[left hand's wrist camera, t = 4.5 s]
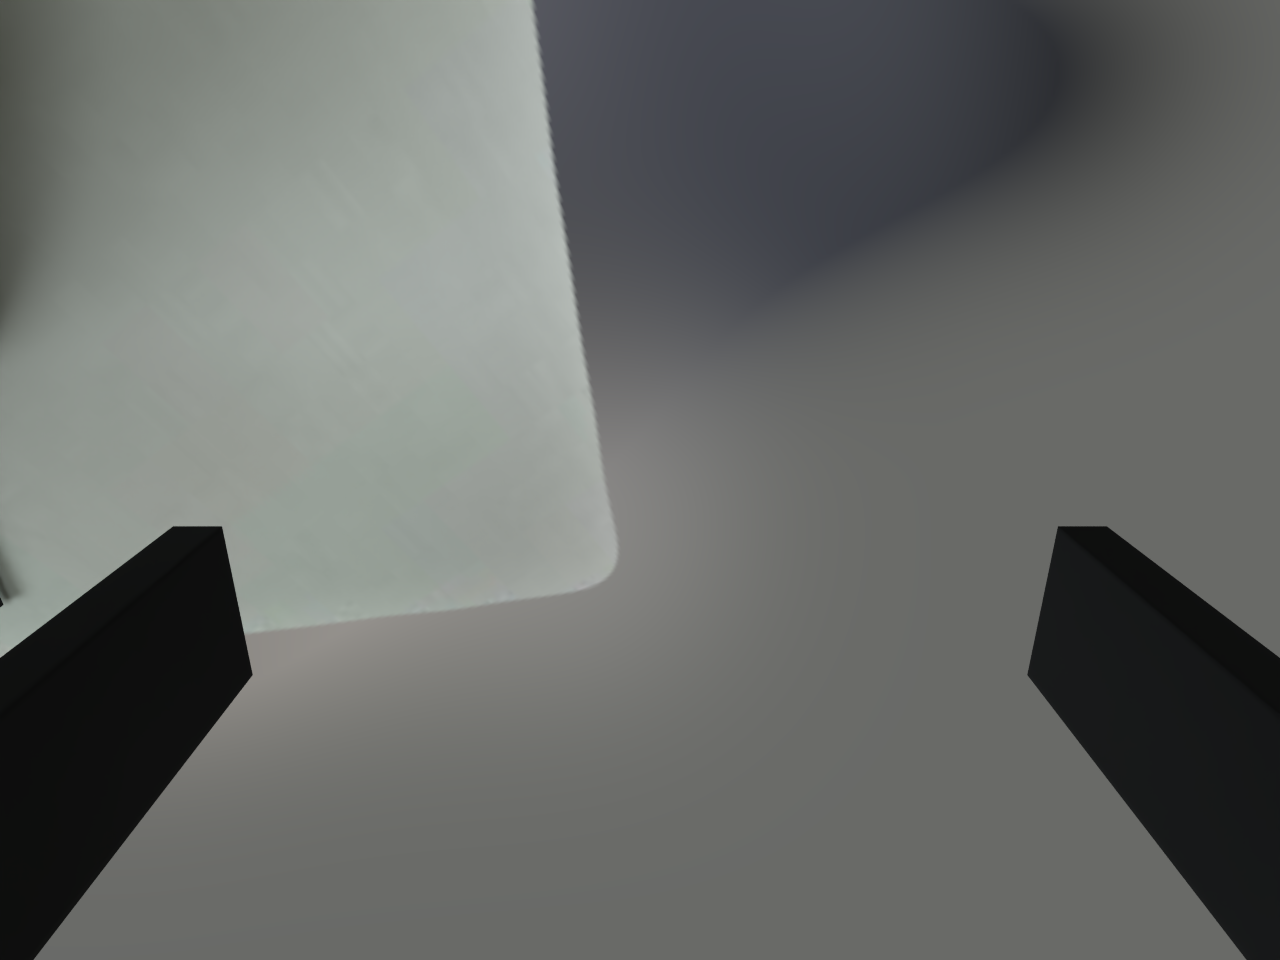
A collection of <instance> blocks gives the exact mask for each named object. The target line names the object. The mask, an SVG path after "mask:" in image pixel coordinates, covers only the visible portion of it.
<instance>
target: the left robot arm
mask: <svg viewBox="0 0 1280 960" xmlns="http://www.w3.org/2000/svg"><path fill="white" fill-rule="evenodd" d="M2 605H3V603H2V601H1V598H0V607H1V606H2ZM251 676H252V670H251V665H250V660H249V655H248V650H247V645H246V641H245V636H244V631H243V626H242V621H241V616H240V612H239V607H238V602H237V597H236V592H235V587H234V582H233V578H232V573H231V568H230V563H229V558H228V553H227V549H226V544H225V539H224V534H223V529H222V526H173V527H172V528H171V529H169V530H168V531H167V532H165V533H164V534H163V535H161V536H160V537H159V538H157V539H156V540H155V541H153V542H152V543H151V544H149V545H148V546H147V547H146V548H144V549H143V550H142V551H140V552H139V553H138V554H136V555H135V556H134V557H132V558H131V559H130V560H128V561H127V562H126V563H124V564H123V565H122V566H121V567H119V568H118V569H117V570H115V571H114V572H113V573H111V574H110V575H109V576H107V577H106V578H105V579H103V580H102V581H101V582H99V583H98V584H97V585H96V586H94V587H93V588H92V589H90V590H89V591H88V592H86V593H85V594H84V595H82V596H81V597H80V598H78V599H77V600H76V601H74V602H73V603H72V604H71V605H69V606H68V607H67V608H65V609H64V610H63V611H61V612H60V613H59V614H57V615H56V616H55V617H53V618H52V619H51V620H49V621H48V622H47V623H46V624H44V625H43V626H42V627H40V628H39V629H38V630H36V631H35V632H34V633H32V634H31V635H30V636H28V637H27V638H26V639H24V640H23V641H22V642H21V643H19V644H18V645H17V646H15V647H14V648H13V649H11V650H10V651H9V652H7V653H6V654H5V655H3V656H2V657H1V658H0V960H34V958H35V957H36V956H37V954H38V953H39V952H40V950H41V949H42V948H43V947H44V945H45V944H46V943H47V941H48V940H49V939H50V937H51V936H52V935H53V934H54V932H55V931H56V930H57V928H58V927H59V926H60V924H61V923H62V922H63V921H64V919H65V918H66V917H67V915H68V914H69V913H70V912H71V910H72V909H73V908H74V906H75V905H76V904H77V902H78V901H79V900H80V899H81V897H82V896H83V895H84V893H85V892H86V891H87V889H88V888H89V887H90V885H91V884H92V883H93V882H94V880H95V879H96V878H97V876H98V875H99V874H100V872H101V871H102V870H103V869H104V867H105V866H106V865H107V863H108V862H109V861H110V860H111V858H112V857H113V856H114V854H115V853H116V852H117V850H118V849H119V848H120V847H121V845H122V844H123V843H124V841H125V840H126V839H127V837H128V836H129V835H130V834H131V832H132V831H133V830H134V828H135V827H136V826H137V824H138V823H139V822H140V820H141V819H142V818H143V817H144V815H145V814H146V813H147V811H148V810H149V809H150V808H151V806H152V805H153V804H154V802H155V801H156V800H157V798H158V797H159V796H160V795H161V793H162V792H163V791H164V789H165V788H166V787H167V785H168V784H169V783H170V782H171V780H172V779H173V778H174V776H175V775H176V774H177V772H178V771H179V770H180V769H181V767H182V766H183V765H184V763H185V762H186V761H187V759H188V758H189V757H190V756H191V754H192V753H193V752H194V750H195V749H196V748H197V746H198V745H199V744H200V743H201V741H202V740H203V739H204V737H205V736H206V735H207V733H208V732H209V731H210V730H211V728H212V727H213V726H214V724H215V723H216V722H217V721H218V719H219V718H220V717H221V715H222V714H223V713H224V711H225V710H226V709H227V708H228V706H229V705H230V704H231V702H232V701H233V700H234V698H235V697H236V696H237V695H238V693H239V692H240V691H241V689H242V688H243V687H244V685H245V684H246V683H247V682H248V680H249V679H250V678H251ZM1028 676H1029V678H1030V679H1031V680H1032V682H1033V683H1034V684H1035V685H1036V687H1037V688H1038V689H1039V691H1040V692H1041V693H1042V695H1043V696H1044V697H1045V698H1046V700H1047V701H1048V702H1049V704H1050V705H1051V706H1052V707H1053V709H1054V710H1055V711H1056V713H1057V714H1058V715H1059V717H1060V718H1061V719H1062V720H1063V722H1064V723H1065V724H1066V726H1067V727H1068V728H1069V730H1070V731H1071V732H1072V734H1073V735H1074V736H1075V737H1076V739H1077V740H1078V741H1079V743H1080V744H1081V745H1082V747H1083V748H1084V749H1085V750H1086V752H1087V753H1088V754H1089V756H1090V757H1091V758H1092V759H1093V761H1094V762H1095V763H1096V765H1097V766H1098V767H1099V769H1100V770H1101V771H1102V772H1103V774H1104V775H1105V776H1106V778H1107V779H1108V780H1109V782H1110V783H1111V784H1112V785H1113V787H1114V788H1115V789H1116V791H1117V792H1118V793H1119V795H1120V796H1121V797H1122V798H1123V800H1124V801H1125V802H1126V804H1127V805H1128V806H1129V808H1130V809H1131V810H1132V811H1133V813H1134V814H1135V815H1136V817H1137V818H1138V819H1139V821H1140V822H1141V823H1142V824H1143V826H1144V827H1145V828H1146V830H1147V831H1148V832H1149V834H1150V835H1151V836H1152V837H1153V839H1154V840H1155V841H1156V843H1157V844H1158V845H1159V847H1160V848H1161V849H1162V850H1163V852H1164V853H1165V854H1166V856H1167V857H1168V858H1169V860H1170V861H1171V862H1172V863H1173V865H1174V866H1175V867H1176V869H1177V870H1178V871H1179V873H1180V874H1181V875H1182V876H1183V878H1184V879H1185V880H1186V882H1187V883H1188V884H1189V886H1190V887H1191V888H1192V889H1193V891H1194V892H1195V893H1196V895H1197V896H1198V897H1199V898H1200V900H1201V901H1202V902H1203V904H1204V905H1205V906H1206V908H1207V909H1208V910H1209V911H1210V913H1211V914H1212V915H1213V917H1214V918H1215V919H1216V921H1217V922H1218V923H1219V924H1220V926H1221V927H1222V928H1223V930H1224V931H1225V932H1226V934H1227V935H1228V936H1229V937H1230V939H1231V940H1232V941H1233V943H1234V944H1235V945H1236V947H1237V948H1238V949H1239V950H1240V952H1241V953H1242V954H1243V956H1244V957H1245V958H1246V959H1247V960H1280V658H1279V657H1278V656H1277V655H1275V654H1274V653H1273V652H1271V651H1270V650H1269V649H1267V648H1266V647H1265V646H1263V645H1262V644H1261V643H1259V642H1258V641H1257V640H1255V639H1254V638H1253V637H1251V636H1250V635H1249V634H1247V633H1246V632H1245V631H1244V630H1242V629H1241V628H1240V627H1238V626H1237V625H1236V624H1234V623H1233V622H1232V621H1231V620H1229V619H1228V618H1226V617H1225V616H1224V615H1223V614H1221V613H1220V612H1219V611H1217V610H1216V609H1215V608H1213V607H1212V606H1211V605H1209V604H1208V603H1207V602H1206V601H1204V600H1203V599H1202V598H1200V597H1199V596H1197V595H1196V594H1195V593H1194V592H1192V591H1191V590H1190V589H1188V588H1187V587H1186V586H1184V585H1183V584H1182V583H1181V582H1179V581H1178V580H1177V579H1175V578H1174V577H1173V576H1171V575H1170V574H1169V573H1167V572H1166V571H1165V570H1163V569H1162V568H1161V567H1159V566H1158V565H1157V564H1156V563H1154V562H1153V561H1152V560H1150V559H1149V558H1148V557H1146V556H1145V555H1144V554H1142V553H1141V552H1140V551H1138V550H1137V549H1136V548H1134V547H1133V546H1132V545H1131V544H1129V543H1128V542H1127V541H1125V540H1124V539H1123V538H1121V537H1120V536H1119V535H1117V534H1116V533H1115V532H1113V531H1112V530H1111V529H1109V528H1108V527H1106V526H1103V527H1102V526H1099V527H1098V526H1097V527H1095V526H1093V527H1092V526H1087V527H1086V526H1084V527H1083V526H1081V527H1079V526H1078V527H1077V526H1075V527H1073V526H1069V527H1068V526H1067V527H1065V526H1061V527H1060V526H1059V527H1058V529H1057V534H1056V539H1055V544H1054V549H1053V553H1052V558H1051V563H1050V568H1049V573H1048V578H1047V582H1046V587H1045V592H1044V597H1043V602H1042V607H1041V611H1040V616H1039V621H1038V626H1037V631H1036V636H1035V641H1034V646H1033V650H1032V655H1031V660H1030V665H1029V670H1028Z"/></svg>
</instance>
